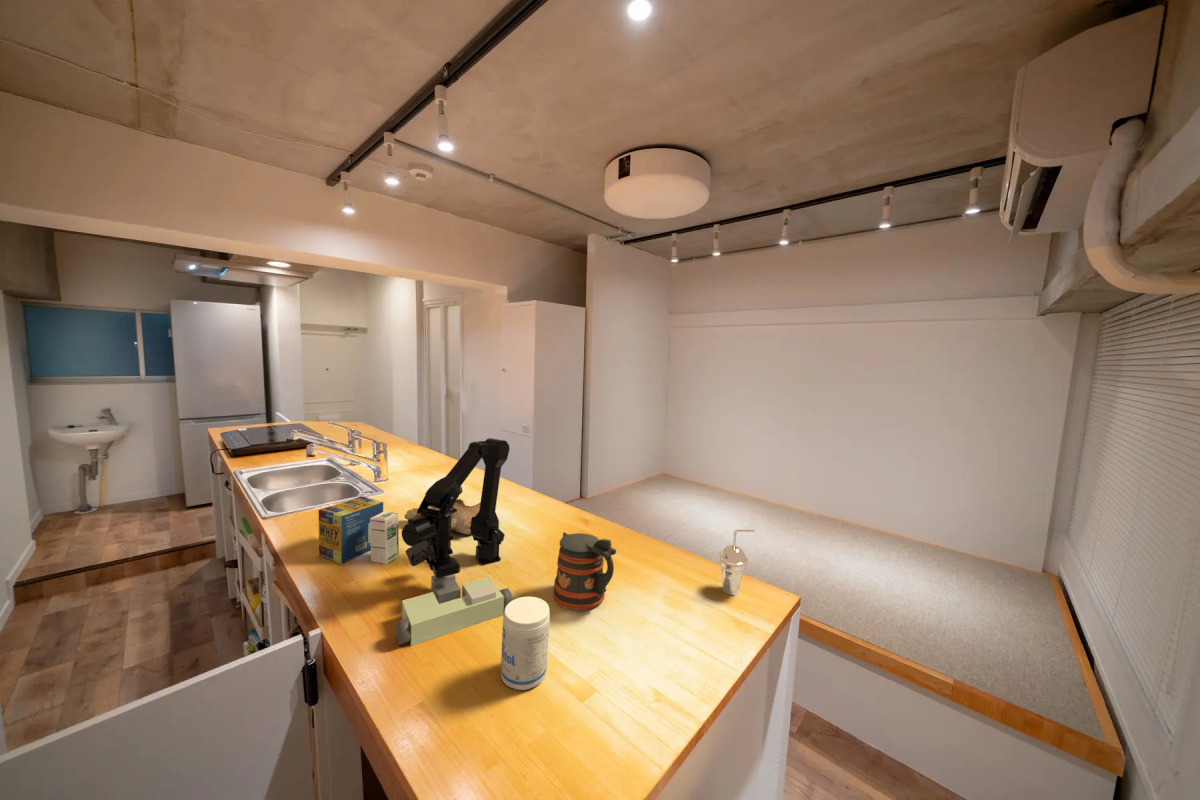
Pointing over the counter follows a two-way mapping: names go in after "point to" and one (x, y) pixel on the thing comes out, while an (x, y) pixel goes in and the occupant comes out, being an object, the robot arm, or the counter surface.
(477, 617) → the green roller block
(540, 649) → the supplement tub
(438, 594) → the grey stepped block
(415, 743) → the counter surface
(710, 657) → the counter surface
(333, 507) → the protein box
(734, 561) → the cup with straw
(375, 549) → the syrup box
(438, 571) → the robot arm
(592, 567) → the beer stein
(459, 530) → the tan knobby branched lump
